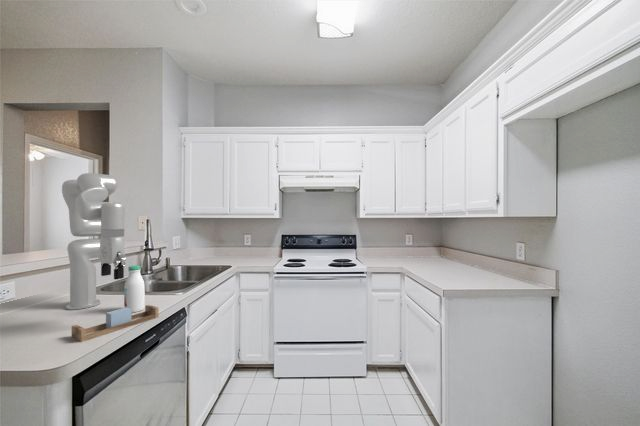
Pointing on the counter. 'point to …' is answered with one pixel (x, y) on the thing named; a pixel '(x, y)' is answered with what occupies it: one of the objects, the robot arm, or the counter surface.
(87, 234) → the robot arm
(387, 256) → the counter surface
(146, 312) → the bottom track
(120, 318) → the pale blue upright box
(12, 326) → the counter surface
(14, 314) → the counter surface
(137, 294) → the milk bottle
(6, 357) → the counter surface
